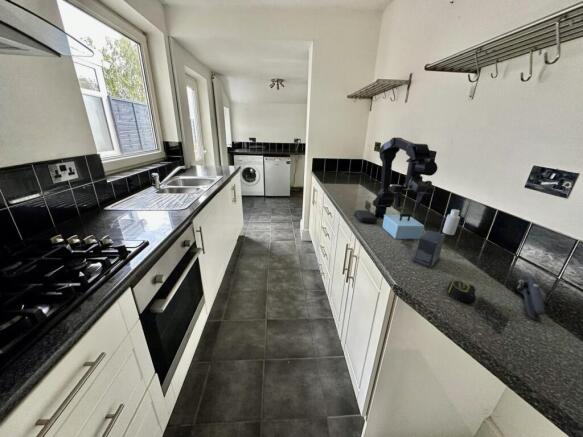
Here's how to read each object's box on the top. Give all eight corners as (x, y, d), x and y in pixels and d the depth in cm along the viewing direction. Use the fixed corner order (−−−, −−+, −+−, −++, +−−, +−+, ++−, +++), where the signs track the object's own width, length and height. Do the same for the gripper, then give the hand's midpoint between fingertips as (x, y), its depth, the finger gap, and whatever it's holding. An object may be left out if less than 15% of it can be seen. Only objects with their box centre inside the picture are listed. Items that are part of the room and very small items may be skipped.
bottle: (440, 230, 117) (447, 208, 113) (449, 230, 118) (456, 208, 113) (447, 235, 113) (454, 212, 108) (456, 235, 113) (464, 212, 109)
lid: (383, 216, 117) (385, 207, 116) (407, 216, 118) (409, 208, 117) (397, 227, 104) (399, 218, 102) (424, 227, 105) (426, 218, 103)
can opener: (512, 285, 77) (519, 270, 75) (542, 294, 73) (550, 280, 70) (515, 314, 64) (523, 298, 62) (551, 328, 60) (561, 311, 58)
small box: (421, 252, 95) (428, 229, 91) (439, 258, 91) (446, 234, 87) (412, 261, 88) (418, 236, 84) (430, 268, 84) (438, 243, 80)
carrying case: (379, 224, 122) (371, 214, 135) (380, 219, 121) (372, 209, 134) (359, 223, 122) (353, 213, 135) (360, 218, 121) (354, 209, 134)
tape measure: (472, 308, 66) (477, 297, 64) (445, 297, 70) (448, 287, 68) (473, 295, 71) (477, 285, 70) (447, 286, 75) (450, 276, 73)
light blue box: (382, 226, 119) (384, 216, 117) (405, 227, 120) (407, 216, 118) (395, 238, 106) (397, 227, 104) (420, 238, 107) (424, 227, 105)
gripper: (403, 174, 94) (397, 211, 99) (446, 175, 96) (438, 211, 100) (390, 172, 105) (385, 205, 109) (429, 173, 106) (422, 205, 111)
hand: (407, 207), depth 107 cm, fingers open, 9 cm apart
